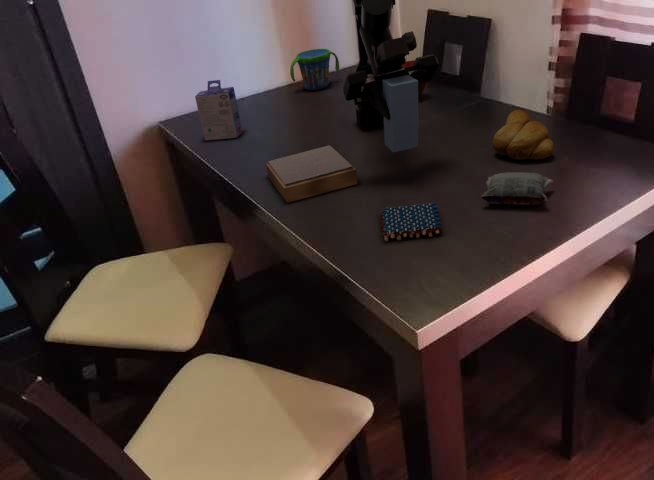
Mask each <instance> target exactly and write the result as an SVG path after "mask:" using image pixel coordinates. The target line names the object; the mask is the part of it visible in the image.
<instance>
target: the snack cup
mask: <svg viewBox="0 0 654 480" xmlns="http://www.w3.org/2000/svg"><path fill="white" fill-rule="evenodd" d="M331 55H332V56H334V59H335V66H334V69H335V71H336V72H339V70H340V61H339V58H338V56H337V54H336V53H335V52H333V51H331V50H330V49H328V48H315V49H309V50H304V51H301V52H299V53H297V54H296V55H295V58H294V59H293V60H292V62H291V64H290V68H289V73H290V79H291V80H292V81H293V83H296V79H295V70H294V66H295V65H296V64H297V65H298V68H299V71H300V75H301V78H302V82H303V86H304V88H305V90H308V91H318V90H321V89H323V88H327V87H328V85H329V83H330V60H331Z"/></svg>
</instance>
